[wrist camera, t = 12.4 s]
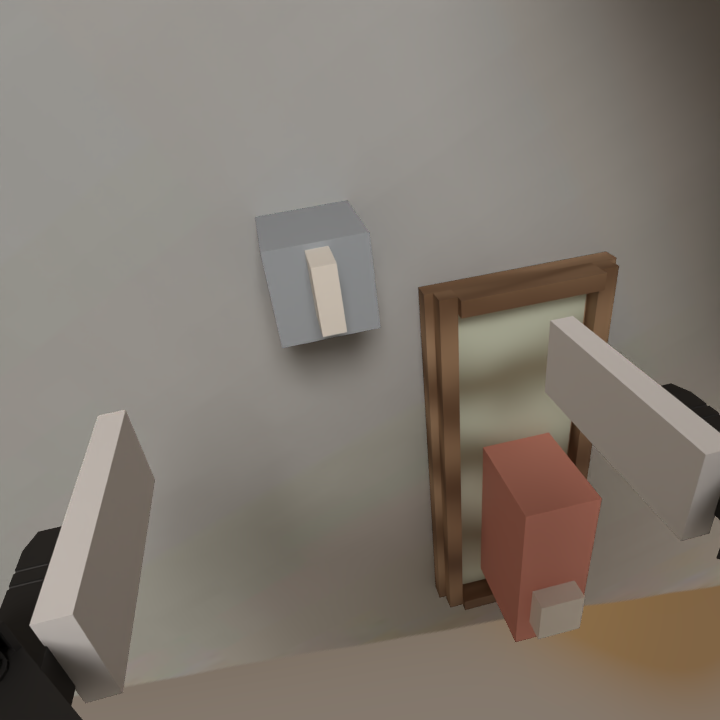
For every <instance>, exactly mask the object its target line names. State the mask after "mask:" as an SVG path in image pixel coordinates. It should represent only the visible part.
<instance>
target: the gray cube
mask: <svg viewBox="0 0 720 720" xmlns="http://www.w3.org/2000/svg"><path fill="white" fill-rule="evenodd" d="M255 220H256V227H257V233H258V240H259V247H260V254H261V258H262V262H263V267H264V271H265V275H266V280H267V284H268V288H269V293H270V297H271V302H272V306H273V310H274V315H275V319H276V323H277V328H278V332H279V336H280V341H281V345H282V348H286V347H290V346H295V345H300V344H305V343H310V342H315V341H319V340H324V339H329V338H334V337H339V336H343V335H348V334H353V333H358V332H363V331H367V330H372V329H377V328H381V327H380V319H379V310H378V301H377V293H376V284H375V275H374V267H373V258H372V249H371V240H370V232H369V231H368V229H367V228H366V226H365V225H364V223H363V222H362V220H361V219H360V218H359V216H358V215H357V213H356V212H355V210H354V209H353V208H352V206H351V205H350V203H349V202H348V200H346V201H341V202H335V203H330V204H324V205H319V206H313V207H308V208H302V209H297V210H291V211H286V212H280V213H275V214H269V215H264V216H258V217H255Z"/></svg>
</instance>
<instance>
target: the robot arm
mask: <svg viewBox="0 0 720 720" xmlns="http://www.w3.org/2000/svg"><path fill="white" fill-rule="evenodd" d="M545 392H546V394H547V395H548V396H549V397H550V398H551V399H552V400H553V401H554V402H555V403H556V405H557V406H558V407H559V408H560V409H561V410H562V411H563V412H564V413H565V414H566V416H567V417H568V418H569V419H570V420H571V421H572V422H573V423H574V424H575V425H576V427H577V428H578V429H579V430H580V431H581V432H582V433H583V434H584V435H585V436H586V438H587V439H588V440H589V441H590V442H591V443H592V444H593V445H594V446H595V447H596V449H597V450H598V451H599V452H600V453H601V454H602V455H603V456H604V457H605V458H606V459H607V461H608V462H609V463H610V464H611V465H612V466H613V467H614V468H615V469H616V470H617V472H618V473H619V474H620V475H621V476H622V477H623V478H624V479H625V480H626V481H627V483H628V484H629V485H630V486H631V487H632V488H633V489H634V490H635V491H636V492H637V494H638V495H639V496H640V497H641V498H642V499H643V500H644V501H645V502H646V503H647V505H648V506H649V507H650V508H651V509H652V510H653V511H654V512H655V513H656V514H657V516H658V517H659V518H660V519H661V520H662V521H663V522H664V523H665V524H666V525H667V526H668V528H669V529H670V530H671V531H672V532H673V533H674V534H675V535H676V536H677V537H678V539H679V540H680V541H683V540H687V539H691V538H694V537H698V536H702V535H705V534H709V533H710V530H711V526H712V523H713V520H714V517H715V516H716V517H717V518H718V519H719V520H720V415H719V413H718V412H717V411H716V410H714V409H713V408H712V407H710V406H707V405H706V403H705V402H704V401H702V400H701V399H700V398H698V397H697V396H696V395H694V394H693V393H692V392H690V391H687V390H685V389H683V388H680V387H678V386H676V385H673V384H667V385H663V386H660V385H659V384H658V383H657V382H655V381H654V380H653V379H652V378H650V377H649V376H648V375H646V374H645V373H644V372H643V371H641V370H640V369H639V368H638V367H636V366H635V365H634V364H633V363H631V362H630V361H629V360H628V359H626V358H625V357H624V356H623V355H621V354H620V353H619V352H618V351H616V350H615V349H614V348H612V347H611V346H610V345H609V344H607V343H606V342H605V341H604V340H602V339H601V338H600V337H599V336H597V335H596V334H595V333H594V332H592V331H591V330H590V329H589V328H587V327H586V326H585V325H584V324H582V323H581V322H580V321H579V320H577V319H576V318H575V317H573V316H570V317H565V318H560V319H555V320H551V321H550V331H549V343H548V356H547V368H546V381H545ZM154 483H155V479H154V476H153V474H152V472H151V469H150V467H149V465H148V462H147V460H146V457H145V455H144V453H143V450H142V448H141V445H140V443H139V441H138V438H137V436H136V433H135V431H134V429H133V426H132V424H131V422H130V419H129V417H128V414H127V412H126V410H122V411H117V412H113V413H108V414H103V415H98V417H97V420H96V423H95V426H94V430H93V433H92V436H91V439H90V442H89V445H88V448H87V451H86V454H85V457H84V460H83V463H82V466H81V469H80V472H79V475H78V478H77V481H76V484H75V487H74V491H73V494H72V497H71V500H70V503H69V506H68V509H67V512H66V515H65V518H64V521H63V524H62V526H61V527H57V528H52V529H48V530H44V531H40V532H38V533H37V534H36V535H35V536H34V538H33V539H32V540H31V541H30V543H29V544H28V545H27V546H26V547H25V549H24V550H23V551H22V554H21V556H20V559H19V562H18V564H17V567H16V569H15V571H16V573H15V574H13V577H12V580H11V582H10V585H9V590H7V592H6V595H5V598H4V600H3V603H2V605H1V608H0V720H82V719H81V717H80V716H79V715H78V714H77V713H76V711H75V710H74V709H73V708H72V706H71V704H72V700H73V696H74V692H75V690H76V691H77V693H78V694H79V695H80V697H81V698H82V699H83V701H84V702H85V703H88V702H92V701H95V700H99V699H103V698H106V697H110V696H113V695H117V694H121V693H123V687H124V681H125V674H126V668H127V661H128V654H129V648H130V641H131V635H132V628H133V622H134V615H135V608H136V602H137V595H138V589H139V582H140V575H141V569H142V562H143V556H144V549H145V542H146V536H147V529H148V523H149V516H150V509H151V503H152V496H153V490H154ZM717 559H720V549H719V552H718V555H717Z"/></svg>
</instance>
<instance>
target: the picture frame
mask: <svg viewBox="0 0 720 720" xmlns="http://www.w3.org/2000/svg"><path fill="white" fill-rule="evenodd" d="M618 269H619V266H618V265H617V264H616V257H614V256H613V255H611V254H609V253H607V252H602V253H596V254H591V255H586V256H581V257H575V258H570V259H565V260H560V261H554V262H549V263H544V264H539V265H533V266H528V267H523V268H518V269H512V270H507V271H502V272H497V273H491V274H486V275H481V276H476V277H470V278H465V279H460V280H455V281H449V282H444V283H439V284H434V285H428V286H423V287H418V288H419V305H420V322H421V340H422V357H423V374H424V392H425V409H426V426H427V444H428V461H429V478H430V495H431V513H432V530H433V547H434V565H435V582H436V589H437V591H438V594H439V597H444V596H446V597H447V600H448V603H449V605H450V607H454V606H458V605H461V604H463V606H464V608H465V610H467V609H471V608H474V607H478V606H482V605H486V604H490V603H493V602H496V599H495V597H494V595H493V593H492V591H491V589H490V587H489V585H488V582H487V580H486V578H485V576H484V574H483V572H482V570H481V527H482V480H483V447H486V446H491V445H495V444H500V443H504V442H509V441H513V440H518V439H522V438H527V437H531V436H536V435H540V434H545V433H550V434H551V436H552V437H553V438H554V440H555V441H556V442H557V443H558V445H559V446H560V447H561V448H562V450H563V451H564V452H565V453H566V455H567V456H568V457H569V458H570V460H571V461H572V462H573V463H574V465H575V466H576V467H577V468H578V470H579V471H580V472H581V473H582V475H583V476H584V477H585V478H586V480H587V475H588V468H589V462H590V455H591V448H592V443H591V442H590V441H589V440H588V439H587V438H586V436H585V435H584V434H583V433H582V432H581V431H580V430H579V429H578V428H577V427H576V425H575V424H574V423H573V422H572V421H571V420H570V419H569V418H568V417H567V416H566V414H565V413H564V412H563V411H562V410H561V409H560V408H559V407H558V406H557V405H556V403H555V402H554V401H553V400H552V399H551V398H550V397H549V396H548V395H547V394H546V392H545V381H546V368H547V356H548V343H549V331H550V321H551V320H555V319H560V318H565V317H570V316H573V317H575V318H576V319H577V320H579V321H580V322H581V323H582V324H584V325H585V326H586V327H587V328H589V329H590V330H591V331H592V332H594V333H595V334H596V335H597V336H599V337H600V338H601V339H602V340H604V341H605V342H606V343H607V342H608V336H609V329H610V322H611V316H612V309H613V303H614V296H615V289H616V283H617V276H618Z"/></svg>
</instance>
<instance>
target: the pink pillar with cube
mask: <svg viewBox="0 0 720 720" xmlns="http://www.w3.org/2000/svg"><path fill="white" fill-rule="evenodd" d="M601 500H602V498H601V497H600V496H599V495H598V493H597V492H596V491H595V490H594V488H593V487H592V486H591V485H590V483H589V482H588V481H587V480H586V478H585V477H584V476H583V475H582V473H581V472H580V471H579V470H578V468H577V467H576V466H575V465H574V463H573V462H572V461H571V460H570V458H569V457H568V456H567V455H566V453H565V452H564V451H563V450H562V448H561V447H560V446H559V445H558V443H557V442H556V441H555V440H554V438H553V437H552V436H551V434H550V433H545V434H540V435H536V436H531V437H527V438H522V439H518V440H513V441H509V442H504V443H500V444H495V445H491V446H486V447H483V480H482V527H481V570H482V572H483V574H484V576H485V578H486V580H487V582H488V585H489V587H490V589H491V591H492V593H493V595H494V597H495V599H496V602H497V604H498V606H499V608H500V610H501V612H502V614H503V616H504V619H505V621H506V623H507V625H508V627H509V629H510V631H511V633H512V635H513V638H514V640H515V642H518V641H522V640H526V639H529V638H532V637H537V638H538V639H541V638H545V637H549V636H552V635H556V634H560V633H563V632H567V631H571V630H574V629H578V628H580V622H581V617H582V612H583V606H584V601H585V596H584V593H585V587H586V582H587V576H588V571H589V565H590V560H591V555H592V549H593V544H594V538H595V533H596V527H597V522H598V516H599V511H600V505H601Z"/></svg>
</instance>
